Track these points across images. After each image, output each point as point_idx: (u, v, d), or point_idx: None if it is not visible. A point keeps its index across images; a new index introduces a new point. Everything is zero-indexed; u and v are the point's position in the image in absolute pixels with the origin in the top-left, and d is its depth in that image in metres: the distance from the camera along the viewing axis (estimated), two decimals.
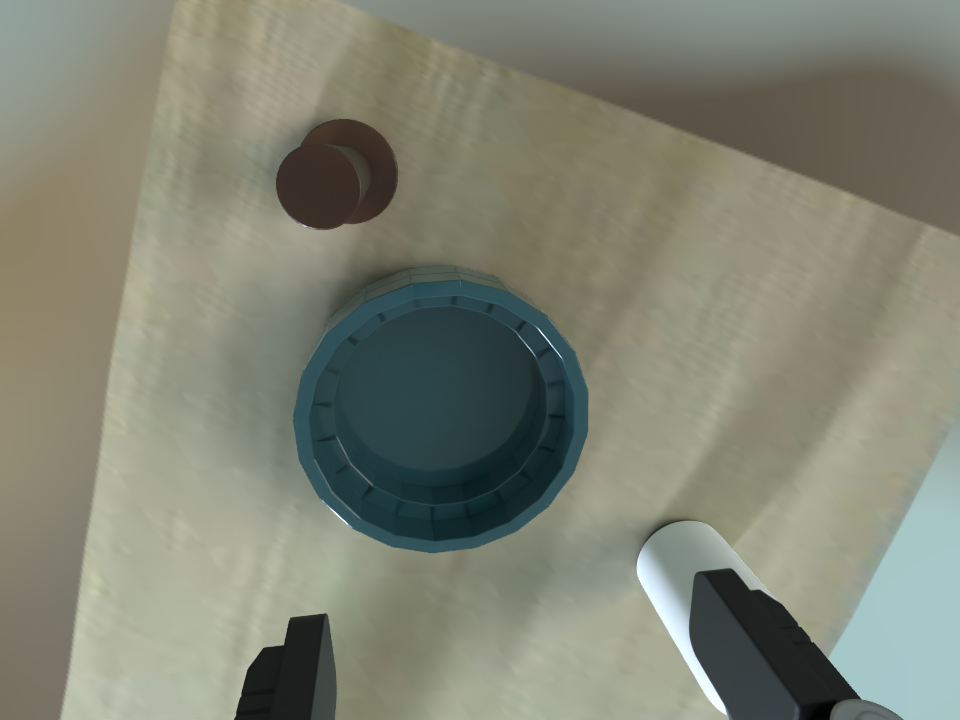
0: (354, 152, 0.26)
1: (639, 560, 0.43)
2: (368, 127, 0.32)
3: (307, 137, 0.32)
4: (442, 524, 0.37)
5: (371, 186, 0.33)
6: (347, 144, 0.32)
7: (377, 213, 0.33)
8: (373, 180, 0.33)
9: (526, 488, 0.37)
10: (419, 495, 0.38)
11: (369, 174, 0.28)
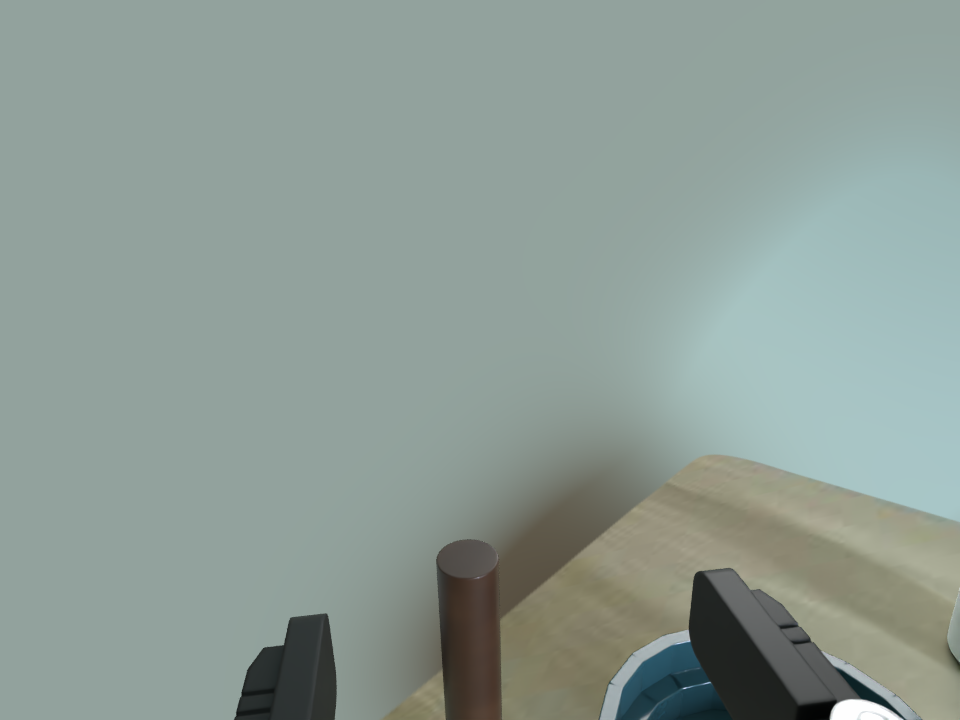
0: None
1: None
2: None
3: None
4: None
5: None
6: None
7: None
8: None
9: None
10: None
11: None
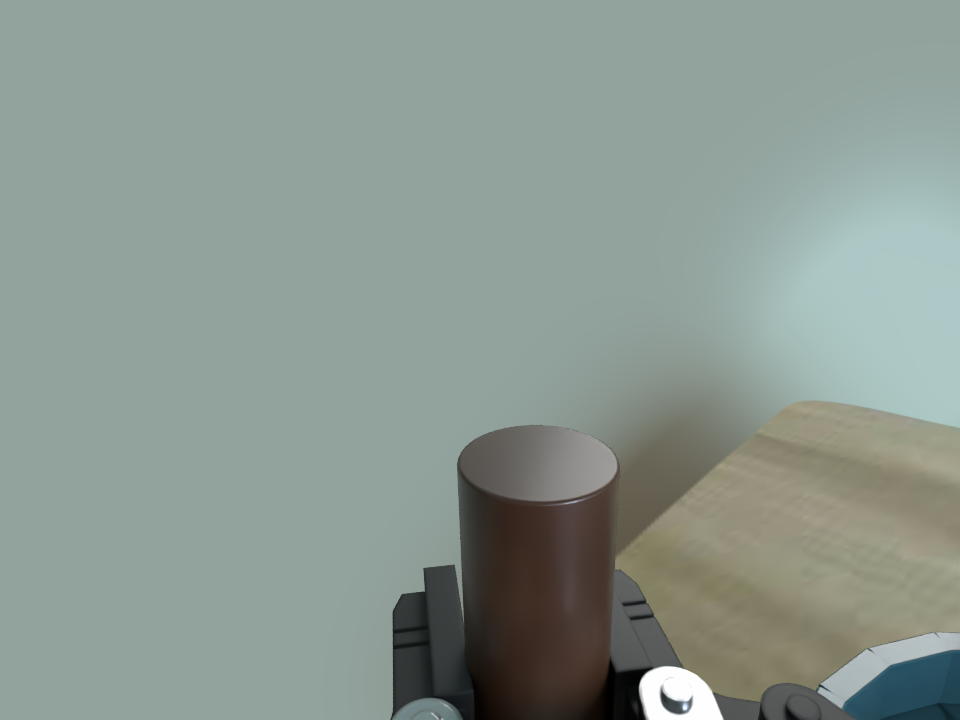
0: None
1: None
2: None
3: None
4: None
5: None
6: None
7: None
8: None
9: None
10: None
11: None
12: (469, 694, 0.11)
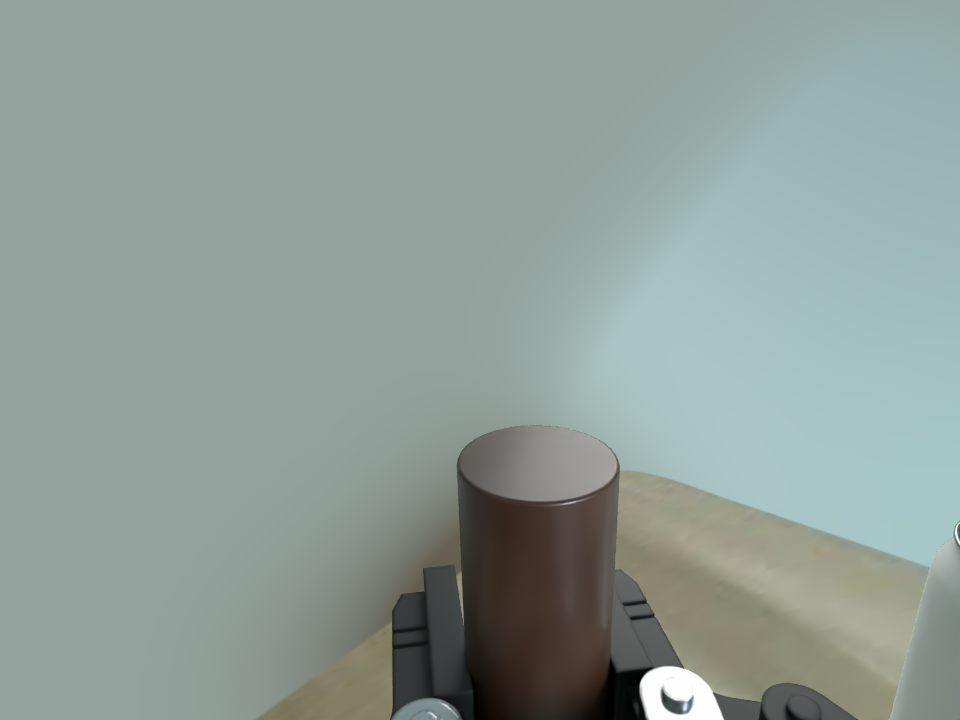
0: None
1: None
2: None
3: None
4: None
5: None
6: None
7: None
8: None
9: None
10: None
11: None
12: (469, 694, 0.11)
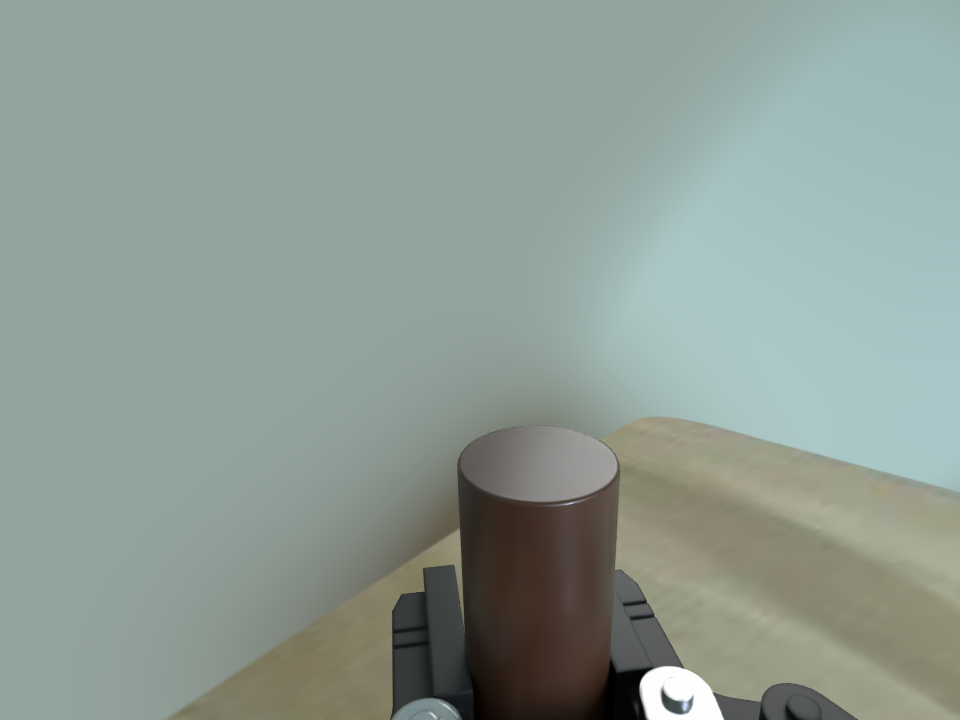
0: None
1: None
2: None
3: None
4: None
5: None
6: None
7: None
8: None
9: None
10: None
11: None
12: (469, 694, 0.11)
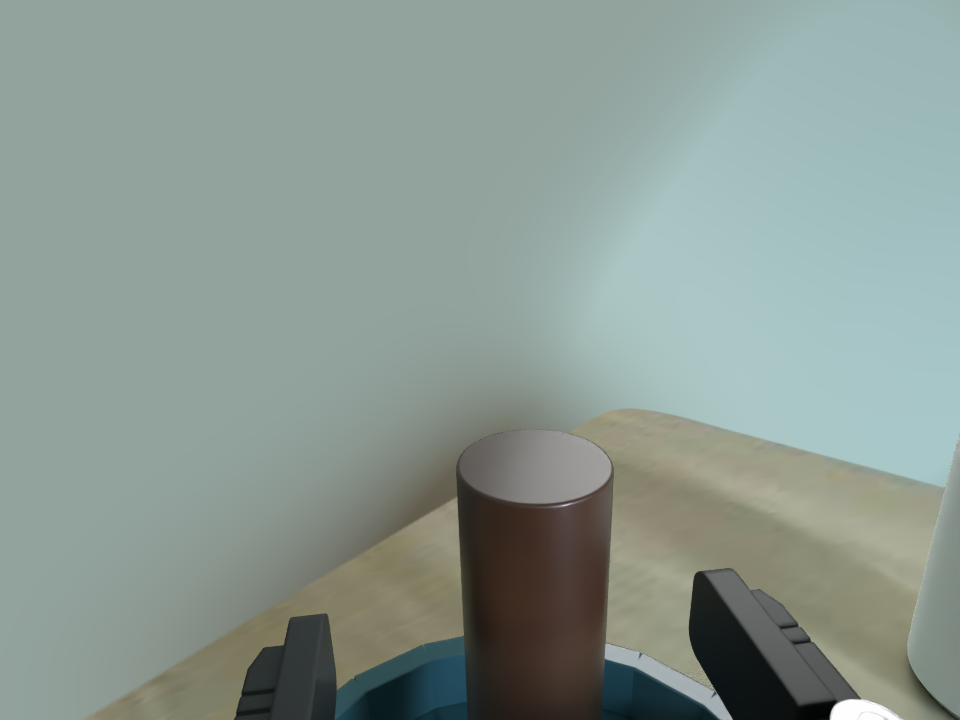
0: None
1: None
2: None
3: None
4: None
5: None
6: None
7: None
8: None
9: None
10: None
11: None
12: None
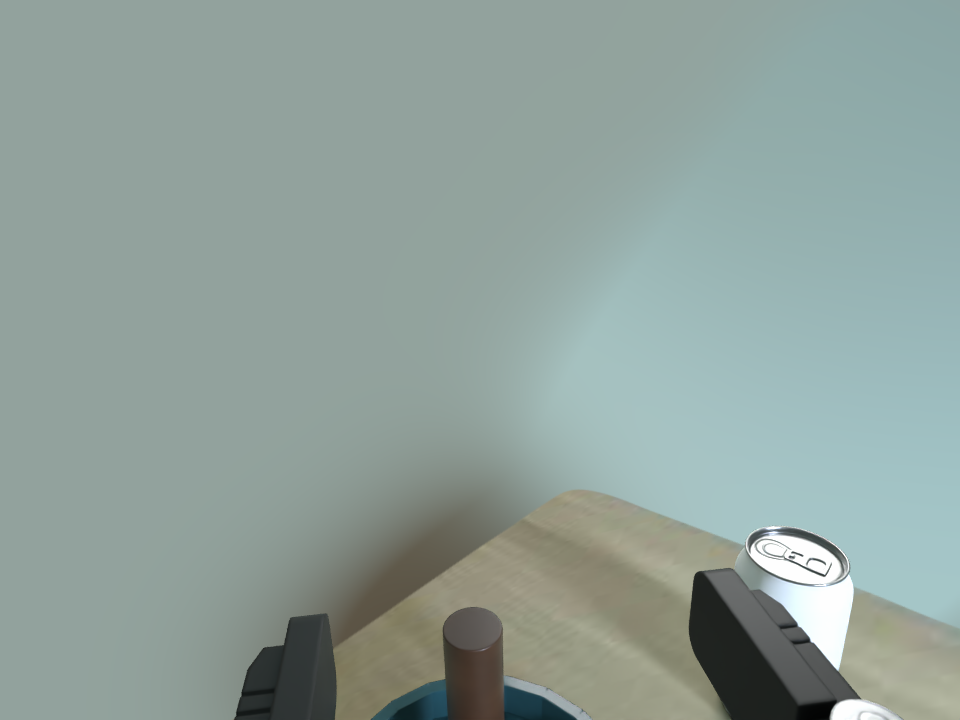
0: None
1: None
2: None
3: None
4: None
5: None
6: None
7: None
8: None
9: None
10: None
11: None
12: None
